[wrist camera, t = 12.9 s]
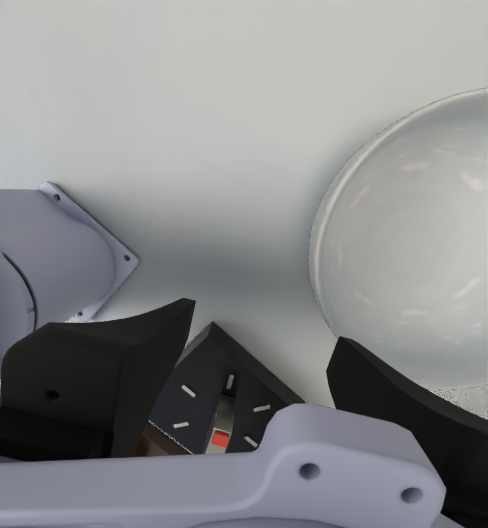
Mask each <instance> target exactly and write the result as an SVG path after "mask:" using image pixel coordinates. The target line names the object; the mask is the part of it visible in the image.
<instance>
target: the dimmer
mask: <svg viewBox="0 0 488 528" xmlns="http://www.w3.org/2000/svg"><path fill="white" fill-rule="evenodd" d="M220 394H224V395H227V396H231V397H234V398H235V399H236V400H235V409H234V419H233V429H232V435H231V437H230V440H229V443H228V445H227V448H226V451H225V453H243V452H252V451H255V450H257V449H258V447H259V446H260V444H261V442H262V439H263V436H264V433H265V430H266V427H267V425H268V423H269V422H270V420H271V419H272V418H273V416H274V415H275V413H276V412H277V411H279V410H281V409H283V408H286V407H288V406H290V405H292V404H306V403H305V402H304V401H303V400H302V399H301V398H300V397H299V396H297V395H296V394H295V393H294V392H293V391H292V390H291V389H289V388H288V387H287V386H286V385H285V384H284V383H283V382H281V381H280V380H279V379H278V378H277V377H276V376H275V375H273V374H272V373H271V372H270V371H269V370H268V369H267V368H265V367H264V366H263V365H262V364H261V363H260V362H259V361H257V360H256V359H255V358H254V357H253V356H252V355H250V354H249V353H248V352H247V351H246V350H245V349H244V348H242V347H241V346H240V345H239V344H238V343H237V342H236V341H234V340H233V339H232V338H231V337H230V336H229V335H228V334H226V333H225V332H224V331H223V330H222V329H221V328H220V327H218V326H217V325H216V324H215V323H214V322H212V323H211V324H210V325H209V326H208V327H206V328H205V329H204V330H203V331H202V332H201V333H200V334H199V335H198V336H197V337H196V338H195V339H194V340H193V341H192V342H191V343H190V344H189V345H188V346H187V347H186V348H185V349H184V350H183V352H182V354H181V356H180V358H179V360H178V362H177V363H176V365H175V367H174V369H173V371H172V372H171V374H170V376H169V378H168V380H167V381H166V383H165V385H164V387H163V388H162V390H161V392H160V394H159V396H158V398H157V400H156V402H155V405H154V407H153V409H152V412H151V414H150V416H149V420H151V421H152V422H153V423H154V424H156V425H157V426H158V427H160V428H161V429H162V430H164V431H165V432H166V433H168V434H169V435H170V436H171V437H173V438H174V439H175V440H177V441H178V442H179V443H181V444H182V445H183V446H185V447H186V448H187V449H188V450H190V451H191V452H192V453H194V454H195V455H197V454H202V453H203V448H204V443H205V439H206V434H207V431H208V428H209V425H210V422H211V419H212V416H213V413H214V410H215V407H216V404H217V401H218V398H219V395H220Z"/></svg>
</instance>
